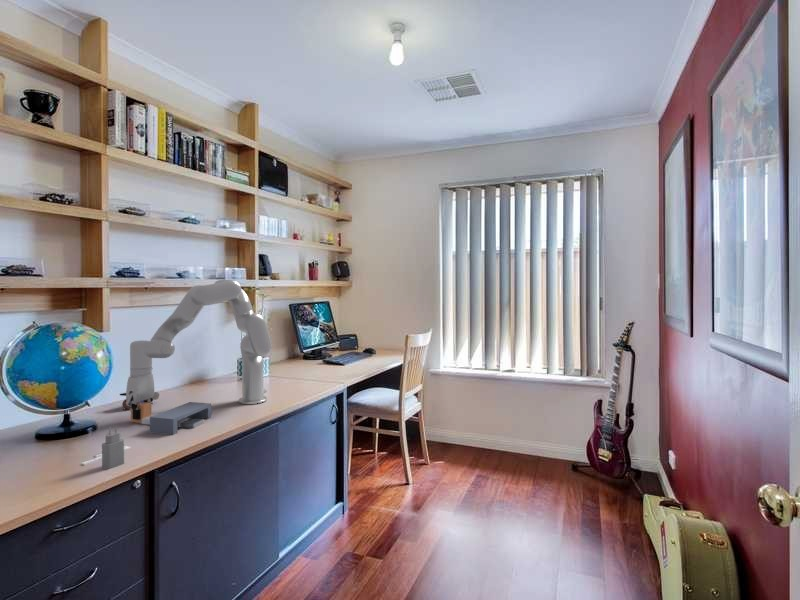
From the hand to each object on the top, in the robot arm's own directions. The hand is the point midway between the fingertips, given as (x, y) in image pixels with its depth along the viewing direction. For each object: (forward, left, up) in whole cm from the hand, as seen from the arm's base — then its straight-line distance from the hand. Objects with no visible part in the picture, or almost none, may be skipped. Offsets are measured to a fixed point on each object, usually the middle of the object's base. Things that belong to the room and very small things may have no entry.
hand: (141, 417), depth 178 cm
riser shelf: (0, +19, -2) cm, 19 cm away
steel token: (0, +23, -2) cm, 23 cm away
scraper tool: (0, +8, -2) cm, 9 cm away
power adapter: (+39, +26, -2) cm, 47 cm away
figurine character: (-18, -17, -2) cm, 25 cm away
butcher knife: (+33, +16, -2) cm, 37 cm away
